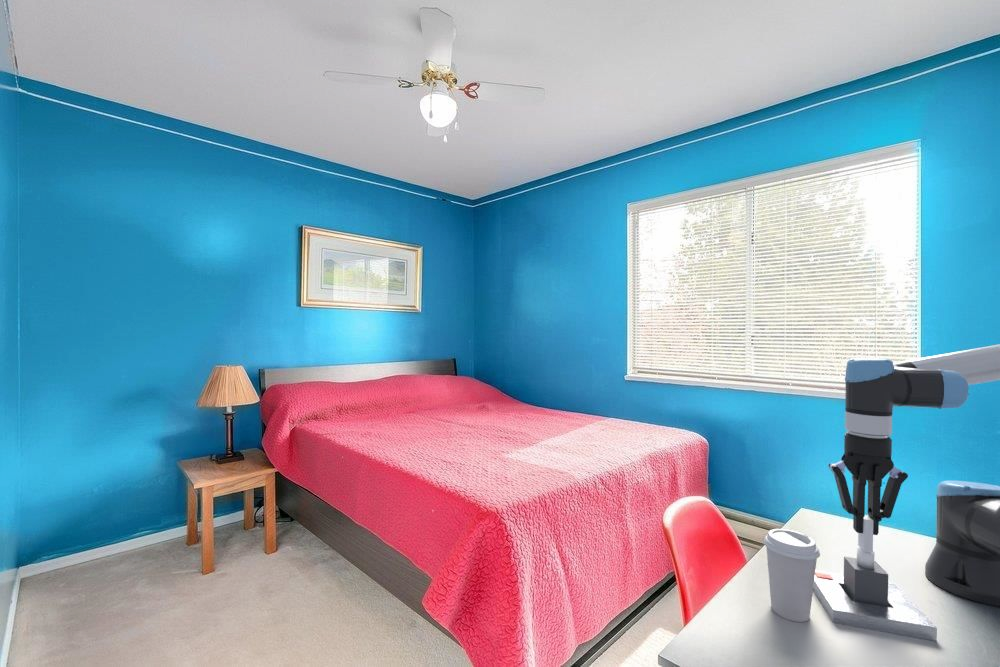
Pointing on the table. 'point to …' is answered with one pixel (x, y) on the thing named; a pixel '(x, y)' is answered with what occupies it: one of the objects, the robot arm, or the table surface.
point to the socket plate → (872, 609)
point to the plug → (865, 579)
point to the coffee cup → (791, 572)
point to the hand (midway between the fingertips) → (865, 548)
